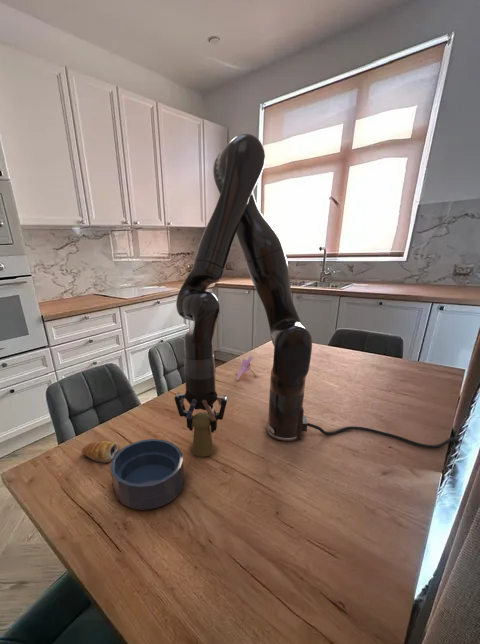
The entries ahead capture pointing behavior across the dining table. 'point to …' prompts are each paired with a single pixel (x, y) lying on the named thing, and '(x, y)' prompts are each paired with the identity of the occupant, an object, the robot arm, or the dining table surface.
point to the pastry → (101, 451)
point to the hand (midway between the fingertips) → (202, 429)
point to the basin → (148, 474)
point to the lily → (245, 366)
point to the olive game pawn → (202, 435)
